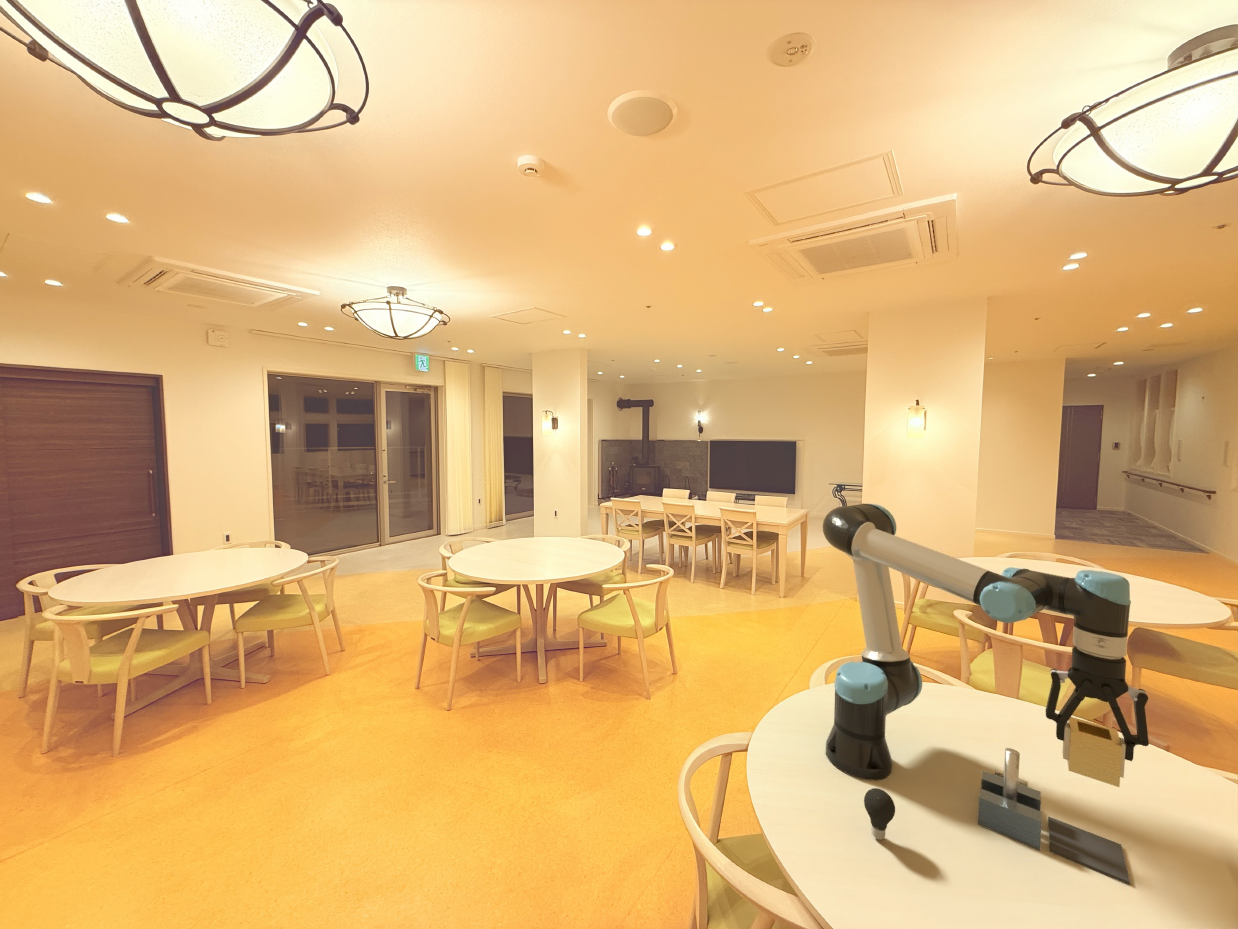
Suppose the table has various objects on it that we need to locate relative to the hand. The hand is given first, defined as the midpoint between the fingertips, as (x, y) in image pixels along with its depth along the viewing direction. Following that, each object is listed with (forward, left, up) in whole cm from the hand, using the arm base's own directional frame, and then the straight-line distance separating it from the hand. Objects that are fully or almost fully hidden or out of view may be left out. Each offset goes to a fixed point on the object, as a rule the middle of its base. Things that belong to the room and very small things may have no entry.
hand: (1091, 764), depth 95 cm
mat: (0, 0, -18) cm, 18 cm away
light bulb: (-32, -24, -18) cm, 44 cm away
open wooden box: (0, 0, -1) cm, 1 cm away
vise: (-12, +3, -18) cm, 22 cm away
